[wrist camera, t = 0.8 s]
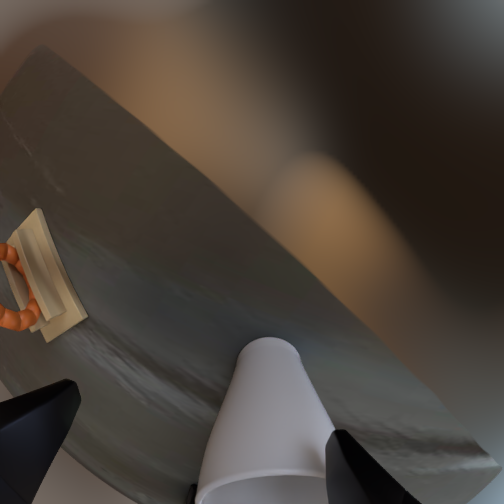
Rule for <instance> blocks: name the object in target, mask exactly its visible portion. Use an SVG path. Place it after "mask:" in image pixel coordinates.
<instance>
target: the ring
mask: <svg viewBox="0 0 504 504" xmlns="http://www.w3.org/2000/svg"><path fill="white" fill-rule="evenodd" d="M2 260H4V261H6V262H8V263H10V264H12V265H14V266H15V267H16V268H17V270H18V271H19V272H20V273H21V274H22V275H23V277H24V279H25V282H26V284H27V287H28V289H29V302H28V304H27V306H26V308H25V309H24V310H22V311H19V312H14V311H12V310H9V309H6V308H4V307H3V306H2V305H1V303H0V326H1V327H5V328H8V329H12V330H15V331H22V330H24V329H26V328H28V327H31V326H33V325H35V324H36V323H37V321H38V318H39V316H40V314H41V312H42V311H41V309H40V307H39V305H38V303H37V301H36V299H35V296H34V294H33V292H32V289H31V287H30V285H29V282H28V280H27V277H26V275H25V272H24V270H23V267H22V264H21V262H20V259H19V256H18V253H17V250H16V248H14V247H12V246H11V245H9V244H7V243H0V261H2Z"/></svg>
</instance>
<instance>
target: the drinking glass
mask: <svg viewBox="0 0 504 504" xmlns="http://www.w3.org/2000/svg"><path fill="white" fill-rule="evenodd" d="M333 430H335V428H334V425H333V423H332V421H331V419H330V417H329V415H328V413H327V412H326V410H325V408H324V406H323V404H322V402H321V400H320V398H319V396H318V394H317V392H316V391H315V389H314V387H313V385H312V383H311V381H310V379H309V377H308V375H307V373H306V371H305V369H304V367H303V365H302V362H301V358H300V356H299V354H298V352H297V350H296V349H295V348H294V347H293V346H292V345H291V344H290V343H288V342H287V341H285V340H283V339H280V338H275V337H264V338H259V339H256V340H254V341H252V342H250V343H249V344H247V345H246V346H245V347H244V348H243V349H242V351H241V352H240V354H239V356H238V358H237V361H236V367H235V370H234V373H233V376H232V379H231V381H230V384H229V387H228V389H227V392H226V395H225V397H224V400H223V402H222V405H221V407H220V410H219V413H218V415H217V418H216V420H215V423H214V425H213V428H212V431H211V433H210V436H209V439H208V442H207V446H206V449H205V453H204V456H203V460H202V464H201V469H200V474H199V479H198V485H197V491H196V497H195V504H329V503H328V496H327V489H326V464H325V446H326V443H327V441H328V439H329V437H330V435H331V433H332V431H333Z"/></svg>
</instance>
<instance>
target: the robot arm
mask: <svg viewBox="0 0 504 504" xmlns="http://www.w3.org/2000/svg"><path fill="white" fill-rule="evenodd" d="M80 403H81V396H80V393H79V389H78V386H77V384H76V382H74V381H72V380H70V379H63V380H61V381H58V382H56V383H53V384H50V385H48V386H45V387H42V388H40V389H37V390H34V391H32V392H29V393H26V394H23V395H20V396H18V397H15V398H12V399H9V400H6V401H3V402H0V504H32V502H33V500H34V497H35V495H36V493H37V491H38V489H39V487H40V485H41V483H42V481H43V479H44V477H45V475H46V473H47V471H48V469H49V467H50V465H51V463H52V461H53V459H54V457H55V456H56V454H57V452H58V450H59V448H60V446H61V445H62V443H63V441H64V439H65V437H66V435H67V434H68V431H69V429H70V427H71V424H72V422H73V420H74V417H75V415H76V413H77V410H78V408H79V406H80ZM325 464H326V489H327V496H328V503H329V504H421V503H420V502H419V501H418V500H417V499H416V498H414V497H413V496H412V495H411V494H410V493H409V492H408V491H406V490H405V489H404V488H403V487H402V486H401V485H400V484H399V483H398V482H397V481H396V480H395V479H394V478H393V477H392V476H391V475H390V474H389V473H388V472H387V471H386V470H385V469H384V468H383V467H382V466H381V465H380V464H379V463H378V462H377V461H376V460H375V459H374V458H373V457H372V456H371V455H370V454H369V453H368V452H367V451H366V450H365V449H364V448H363V447H362V446H361V445H360V444H359V443H358V442H357V441H356V440H355V439H354V438H353V437H352V436H351V435H350V434H349V433H348V432H347V431H346V430H344V429H340V430H333V431H332V433H331V435H330V437H329V439H328V441H327V443H326V446H325ZM196 491H197V485H196V484H192V485H191V488H190V492H189V495H188V498H187V501H186V504H195V497H196Z"/></svg>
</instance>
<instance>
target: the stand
mask: <svg viewBox="0 0 504 504" xmlns="http://www.w3.org/2000/svg"><path fill="white" fill-rule="evenodd" d="M6 243H7V244H9V245H11V246H12V247H14V248H16V250H17V253H18V256H19V259H20V262H21V264H22V267H23V270H24V272H25V275H26V277H27V280H28V282H29V285H30V287H31V289H32V292H33V294H34V296H35V299H36V301H37V303H38V305H39V307H40V309H41V311H42V312H41V314H40V316H39V318H38V321H37V323H36V324H35V325H33V326H31V327H29V329H30V331H31V333H33V332H35V331H37V330H39V329H40V330H41V332H42V334H43V336H44V338H45V340H46V342H47V343H48V342H50V341H51V340H53V339H55V338H56V337H58V336H59V335H61V334H62V333H64V332H65V331H67V330H68V329H70V328H71V327H73V326H75V325H76V324H78V323H79V322H81V321H82V320H84V319H85V318H87V317H88V315H87V313H86V311H85V309H84V307H83V305H82V304H81V302H80V300H79V298H78V296H77V294H76V292H75V290H74V288H73V286H72V284H71V281H70V279H69V277H68V275H67V273H66V271H65V268H64V266H63V264H62V262H61V259H60V257H59V255H58V252H57V250H56V247H55V245H54V242H53V240H52V237H51V234H50V232H49V229H48V226H47V223H46V221H45V218H44V215H43V212H42V209H35V210H34V211H33V212H32V213H31V214H30V215H29V216H28V217H27V218H26V220H25V221H24V222H23V223H22V224H21V225H20V226H19V228H18V229H16V230H15V231H14V232H13V233H12V236H11V237H10V238H9V240H8V241H7V242H6ZM2 264H3V267H4V270H5V273H6V275H7V278H8V281H9V283H10V286H11V289H12V291H13V294H14V296H15V298H16V301H17V303H18V305H19V308H20V310H21V311H22V310H24V309H25V308H26V306H27V304H28V302H29V289H28V287H27V284H26V282H25V279H24V277H23V275H22V274H21V273H20V272H19V271H18V270H17V268H16V267H15V266H14V265H12V264H10V263H8V262H6V261H4V260H2Z"/></svg>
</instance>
